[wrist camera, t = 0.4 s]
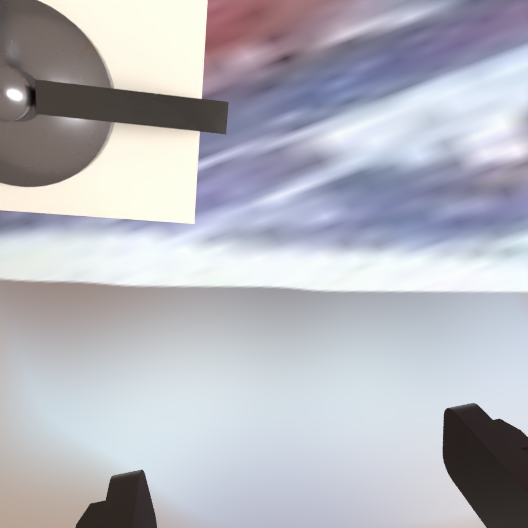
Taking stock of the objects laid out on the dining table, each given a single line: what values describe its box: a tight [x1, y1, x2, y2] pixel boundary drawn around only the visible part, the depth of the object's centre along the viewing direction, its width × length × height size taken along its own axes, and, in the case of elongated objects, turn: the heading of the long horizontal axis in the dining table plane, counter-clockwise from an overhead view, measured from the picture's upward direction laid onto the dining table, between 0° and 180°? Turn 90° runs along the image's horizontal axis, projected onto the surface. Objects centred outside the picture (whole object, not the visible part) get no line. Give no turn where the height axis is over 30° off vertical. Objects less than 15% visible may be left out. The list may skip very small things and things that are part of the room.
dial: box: [0, 0, 228, 187], centre depth 27 cm, size 18×11×4 cm, turn 84°
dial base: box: [0, 0, 207, 224], centre depth 27 cm, size 22×18×4 cm
